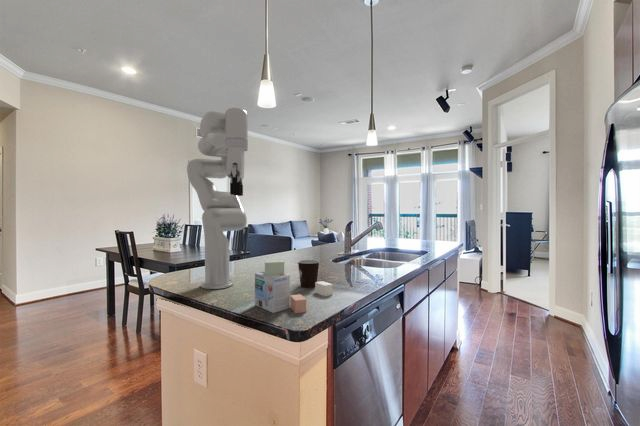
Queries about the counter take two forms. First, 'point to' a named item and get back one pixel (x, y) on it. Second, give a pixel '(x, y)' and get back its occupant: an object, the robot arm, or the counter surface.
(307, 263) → the coffee mug
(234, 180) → the robot arm
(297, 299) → the brick terracotta
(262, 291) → the light bulb box
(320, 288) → the brick cream
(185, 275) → the counter surface
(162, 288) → the counter surface
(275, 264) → the brick sage
